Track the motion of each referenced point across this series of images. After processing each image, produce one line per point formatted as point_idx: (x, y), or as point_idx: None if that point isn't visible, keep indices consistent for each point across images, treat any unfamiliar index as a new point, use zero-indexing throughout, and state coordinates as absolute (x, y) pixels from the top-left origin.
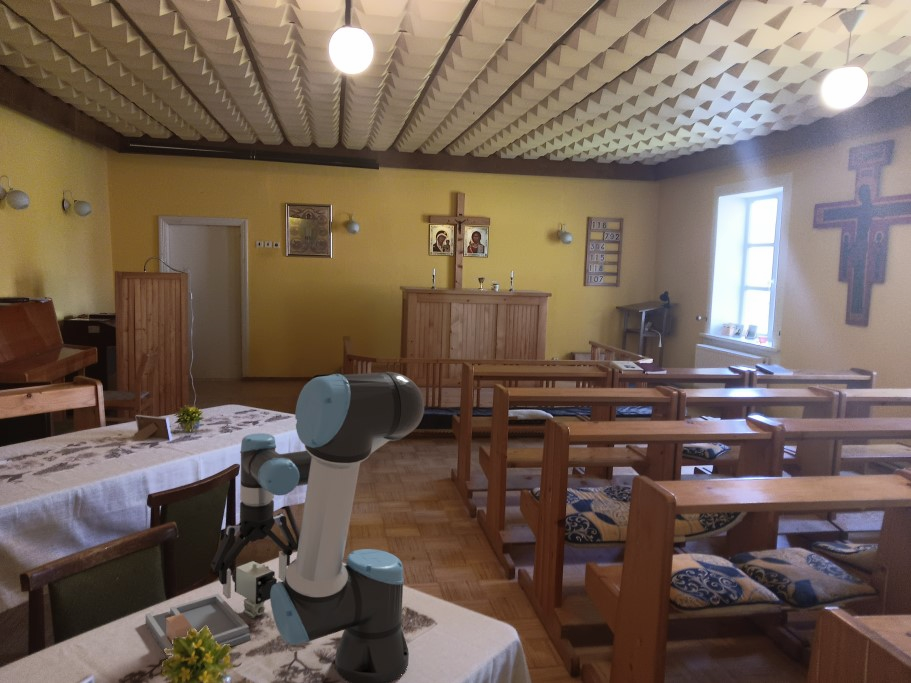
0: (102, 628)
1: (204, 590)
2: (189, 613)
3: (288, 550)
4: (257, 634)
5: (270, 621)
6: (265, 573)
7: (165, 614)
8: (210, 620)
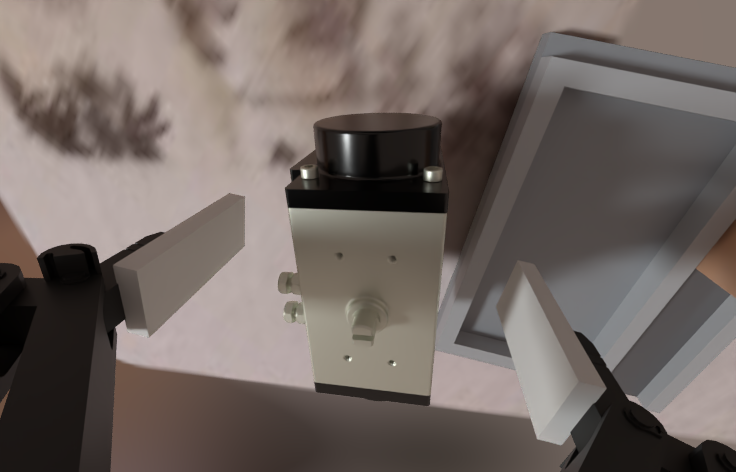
0: (717, 438)
1: None
2: None
3: (65, 287)
4: (490, 51)
5: (388, 102)
6: (353, 214)
7: None
8: (551, 255)
